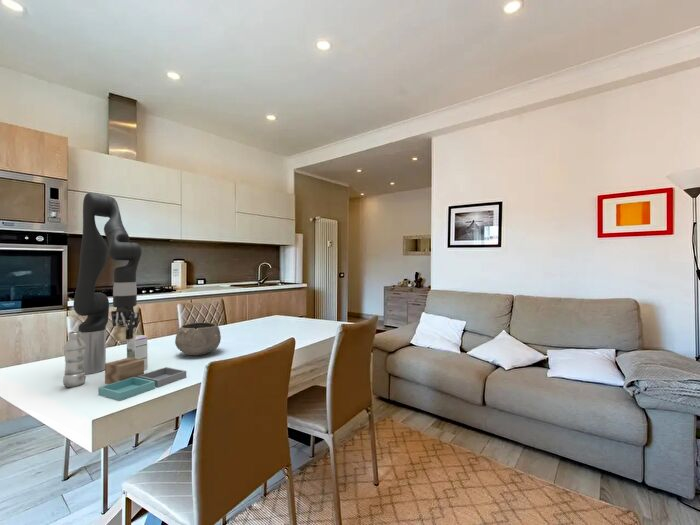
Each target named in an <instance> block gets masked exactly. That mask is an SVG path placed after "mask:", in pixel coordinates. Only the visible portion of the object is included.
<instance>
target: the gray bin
mask: <svg viewBox="0 0 700 525" xmlns="http://www.w3.org/2000/svg"><path fill="white" fill-rule="evenodd" d="M137 378H142V379H146V380H151V381H155V388H160V387H164V386H166V385H168V384H169V385H170V384H172V383H174V382H177V381H179V380H182V379H186V378H187V370H183V369H179V368H172V367H167V366H166V367H165V366H164V367H162V368H159V369H156V370H151V371H149V372H144V374H142V375H138V376H137Z"/></svg>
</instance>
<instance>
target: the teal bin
mask: <svg viewBox="0 0 700 525" xmlns="http://www.w3.org/2000/svg"><path fill="white" fill-rule="evenodd" d="M155 389H156V387H155V381H151V380H146V379H142V378H137V377H132V378H128V379H125V380H122V381H119V382H115V383H112V384H105V385H102V386H99V387H98V395H97V396H100V397H104V398H107V399H111V400H115V401H118V402H120V401H123V400H124V401H125V400H127V399H129V398H132V397H136V396H137V395H141V394H144V393H146V392H149V391H152V390H155Z"/></svg>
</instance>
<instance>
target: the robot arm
mask: <svg viewBox="0 0 700 525" xmlns="http://www.w3.org/2000/svg"><path fill="white" fill-rule="evenodd" d="M96 217H103V218H109V219H108V220H107V221H106V223H105V224H104V226H103V232H104V235H105V237H106V239H107V241H108V243H107V242H106V241H105V238H104V237H103V236H102V235H101V233H100V231H99V229H98V227H97V225H96ZM142 252H143V250H142V247H141V245H140V244H139V243H137V242H130V236H129V234H128V232H127V230H126V228H125V227H124V224H123V220H122V217H121V212H120V208H119V204H118V201H117V200H116V198H114V197H112V196H109V195H105V194H99V193H93V192H87V193H86V194H85V196H84V198H83V202H82V237H81V246H80V255H79V267H78V268H79V270H78V276H77V277H78V278H77V283H76V289H75V293H74V298H73V310H74V312H75V313H76V314H77V315H78V316H80V317H81V316H82V317H84V316H85V317H86V319H84V321H83V322H82V323H80V324H79V325H78V331H80V332H81V337H80V338H81V339H82V340H83V341H84V343H85V352H84V359H83V360H84V372H85V375H87V374H88V375H89V374H95V373H100V372H103V371H105V363H107V362H106V360H107V357H106V356H107V350H106V349H107V348H106V347H107V342H106V341H107V337H106V336H107V333H106V332H107V330H106V329H107V324H108V323H109V313H110V316H111V322H112V326H113V327H116V326H122V325H125V326H126V339H127V340H129V339H132V338H133V329H134V328H137V327H138V324H139V320H140V319H139V318H140V312H138V311H136V312H135V308H134V307H136V306H137V304H138V303H137V300H138V299H137V298H138V297H137V295H138V294H137V293H138V292H137V291H138V289H137V288H138V287H137V271H138V270H137V269H138V267H139V266H138V265H139V263H140V260H141V256H142ZM108 257H109V258H111V259H112V260H114V261H128V262H127V264H126V265H124V266H118V267H115V268H114V271H113V287H112V288H113V289H112V307H113V308H116V309H115V310H111V312H109V311H110V301H109V298H108V296H107V295H106V294H105V293H103V292H95V290H96V284H97V281H98V279H99V277H100V276H101V274H102V272H103V271H104V270H105V268H106V266H107V264H108ZM127 340H126V341H127Z"/></svg>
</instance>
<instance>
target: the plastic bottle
mask: <svg viewBox="0 0 700 525" xmlns="http://www.w3.org/2000/svg"><path fill="white" fill-rule="evenodd" d="M80 337H81V332H80V331H71V332H68V335H67V338H68V340H66V342H65V343H64V345H63V348H62V349H63V355H64V362H65V363H64V364H65V365H64V366H65V367H64V375H63V378H62V379H63V380H62V383H63V385H64V387H66V388H73V387H79V386H82V385H84V383H85V381H86V374H85V372H84V360H83V359H84V352H85V343H84V341H83V340H82V339H81V338H80Z"/></svg>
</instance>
